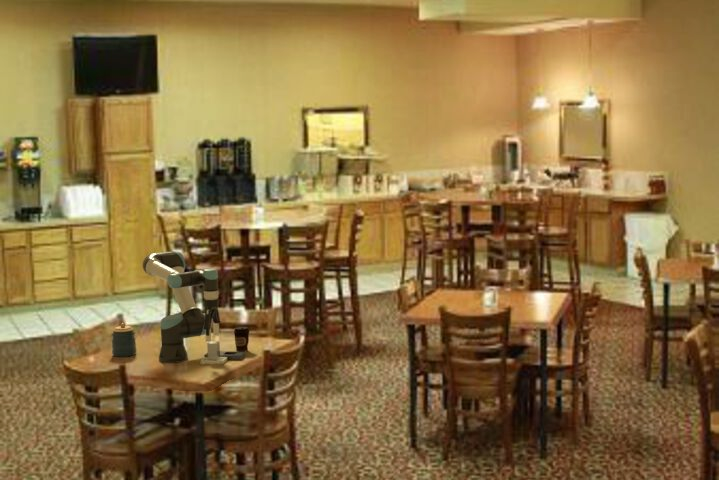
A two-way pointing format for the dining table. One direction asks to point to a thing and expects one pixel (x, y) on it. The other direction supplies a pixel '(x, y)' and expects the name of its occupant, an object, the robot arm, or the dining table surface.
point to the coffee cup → (241, 338)
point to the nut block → (213, 351)
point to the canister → (123, 341)
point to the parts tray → (205, 361)
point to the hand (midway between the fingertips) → (212, 338)
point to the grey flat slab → (231, 355)
